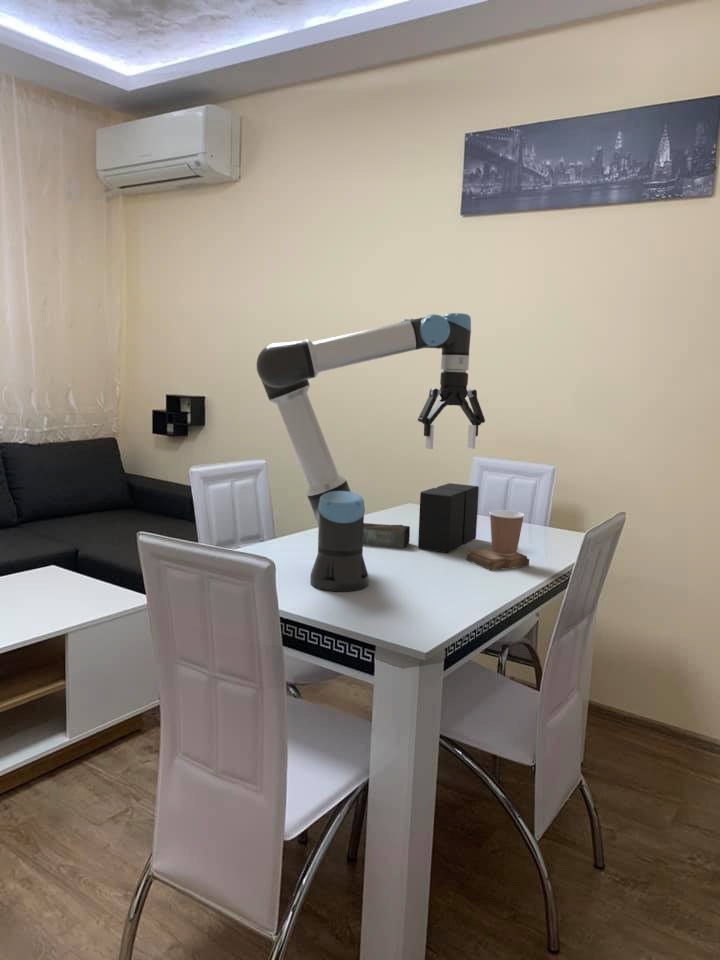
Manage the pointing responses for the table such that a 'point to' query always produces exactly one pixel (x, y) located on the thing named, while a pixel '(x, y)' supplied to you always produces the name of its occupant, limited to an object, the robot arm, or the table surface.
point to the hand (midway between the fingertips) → (450, 448)
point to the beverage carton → (386, 535)
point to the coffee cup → (505, 531)
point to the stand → (496, 559)
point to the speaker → (448, 517)
